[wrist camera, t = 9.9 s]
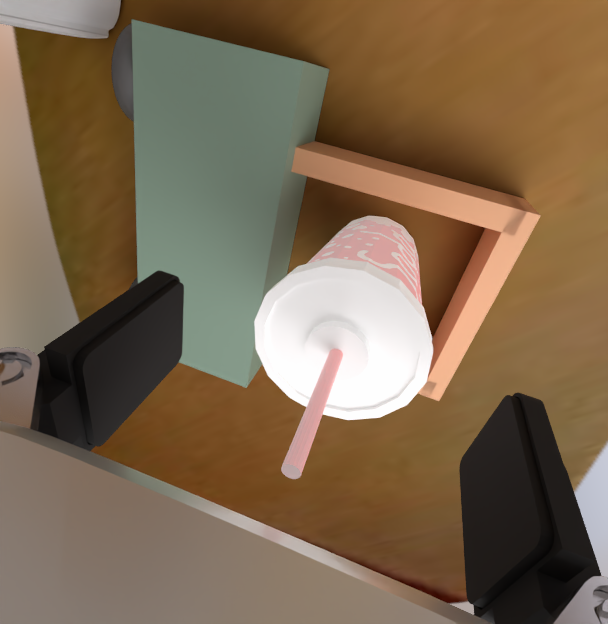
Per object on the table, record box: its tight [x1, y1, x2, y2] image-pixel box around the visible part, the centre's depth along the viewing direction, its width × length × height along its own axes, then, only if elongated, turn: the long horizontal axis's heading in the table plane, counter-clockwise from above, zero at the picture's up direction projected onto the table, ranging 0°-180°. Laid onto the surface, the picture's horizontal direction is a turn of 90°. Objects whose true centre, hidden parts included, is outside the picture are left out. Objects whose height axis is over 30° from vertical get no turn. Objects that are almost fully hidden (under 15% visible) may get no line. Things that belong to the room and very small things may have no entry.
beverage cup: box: [254, 216, 433, 479], centre depth 15 cm, size 6×6×14 cm
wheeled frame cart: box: [112, 19, 541, 401], centre depth 19 cm, size 16×18×4 cm
